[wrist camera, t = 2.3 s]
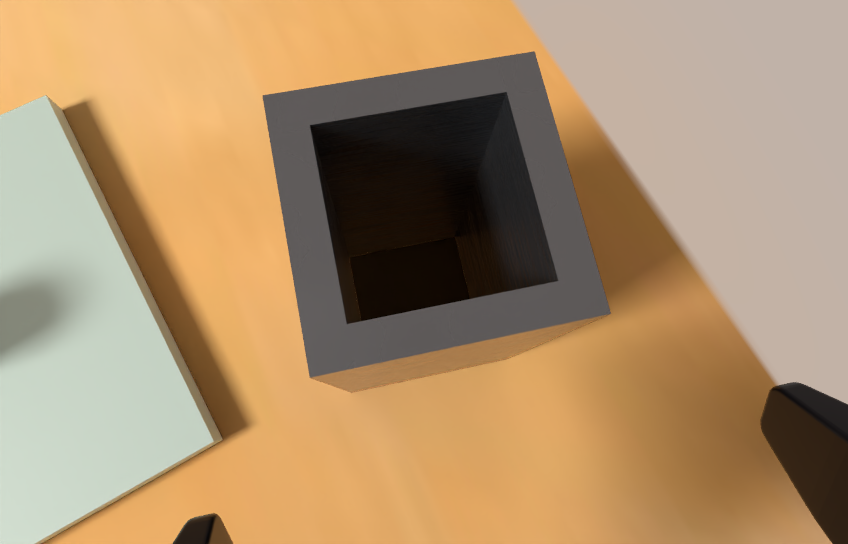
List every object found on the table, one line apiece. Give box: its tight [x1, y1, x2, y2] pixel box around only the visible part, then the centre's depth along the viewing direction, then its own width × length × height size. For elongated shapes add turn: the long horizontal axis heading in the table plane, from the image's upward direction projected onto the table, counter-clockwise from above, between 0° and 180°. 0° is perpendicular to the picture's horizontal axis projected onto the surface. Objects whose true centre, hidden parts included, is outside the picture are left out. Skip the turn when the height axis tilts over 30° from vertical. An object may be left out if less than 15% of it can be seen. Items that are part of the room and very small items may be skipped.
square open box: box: [263, 52, 611, 393], centre depth 16 cm, size 6×6×10 cm
